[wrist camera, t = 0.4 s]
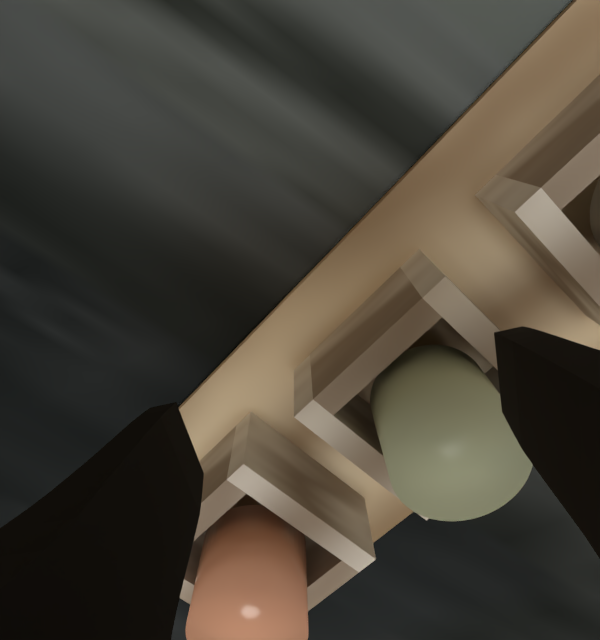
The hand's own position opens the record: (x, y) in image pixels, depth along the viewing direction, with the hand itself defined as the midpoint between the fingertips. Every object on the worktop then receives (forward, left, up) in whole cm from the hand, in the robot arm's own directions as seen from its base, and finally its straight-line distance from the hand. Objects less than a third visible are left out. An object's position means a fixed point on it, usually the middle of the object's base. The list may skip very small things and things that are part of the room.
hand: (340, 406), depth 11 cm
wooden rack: (-6, 0, -10) cm, 11 cm away
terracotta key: (-6, +10, -7) cm, 13 cm away
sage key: (-6, 0, -7) cm, 9 cm away
